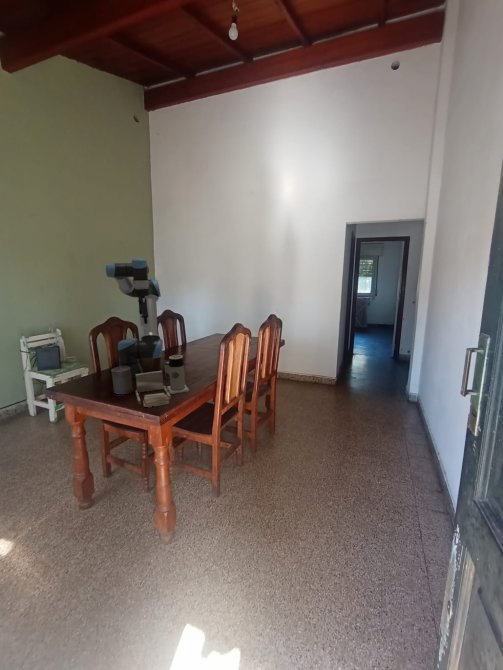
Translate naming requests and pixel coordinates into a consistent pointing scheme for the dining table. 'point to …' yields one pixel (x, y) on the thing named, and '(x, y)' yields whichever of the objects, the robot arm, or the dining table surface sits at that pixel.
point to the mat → (177, 390)
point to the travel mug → (176, 372)
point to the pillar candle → (122, 380)
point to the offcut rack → (152, 388)
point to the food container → (166, 369)
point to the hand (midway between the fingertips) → (144, 327)
